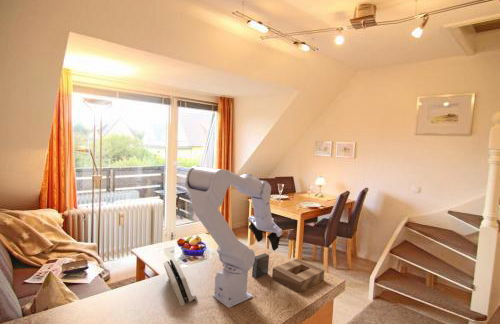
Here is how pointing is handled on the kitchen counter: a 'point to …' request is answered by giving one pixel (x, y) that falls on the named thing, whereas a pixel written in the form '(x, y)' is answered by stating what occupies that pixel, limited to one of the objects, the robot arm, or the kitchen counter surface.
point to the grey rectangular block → (260, 265)
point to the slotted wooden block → (298, 274)
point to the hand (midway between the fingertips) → (267, 244)
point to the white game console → (179, 282)
